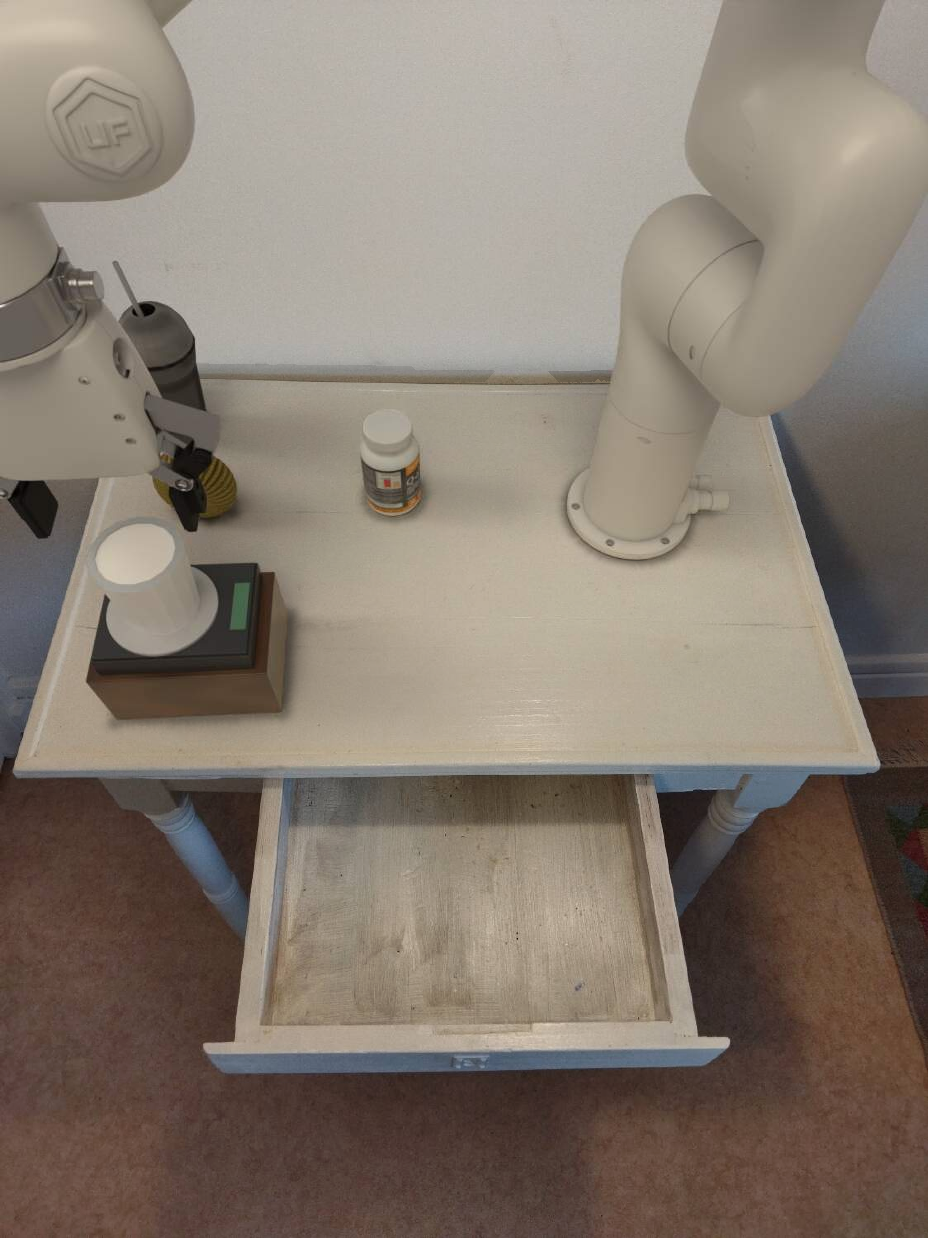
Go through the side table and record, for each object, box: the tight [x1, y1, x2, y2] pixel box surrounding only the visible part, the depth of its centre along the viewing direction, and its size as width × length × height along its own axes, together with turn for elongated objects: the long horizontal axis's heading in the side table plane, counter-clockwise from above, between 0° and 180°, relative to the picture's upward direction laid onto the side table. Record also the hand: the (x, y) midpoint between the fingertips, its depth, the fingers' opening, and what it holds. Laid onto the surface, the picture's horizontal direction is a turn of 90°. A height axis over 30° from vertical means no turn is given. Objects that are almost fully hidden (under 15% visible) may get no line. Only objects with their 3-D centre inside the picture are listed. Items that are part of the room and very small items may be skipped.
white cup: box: [85, 516, 200, 636], centre depth 59 cm, size 7×7×7 cm
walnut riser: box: [85, 571, 289, 720], centre depth 67 cm, size 14×10×7 cm
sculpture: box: [151, 452, 238, 519], centre depth 76 cm, size 8×4×8 cm, turn 82°
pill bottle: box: [359, 408, 422, 517], centre depth 77 cm, size 6×6×10 cm
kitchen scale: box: [89, 562, 262, 675], centre depth 63 cm, size 12×9×3 cm
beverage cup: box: [111, 260, 208, 445], centre depth 77 cm, size 7×7×20 cm
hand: (122, 518), depth 53 cm, fingers open, 9 cm apart
